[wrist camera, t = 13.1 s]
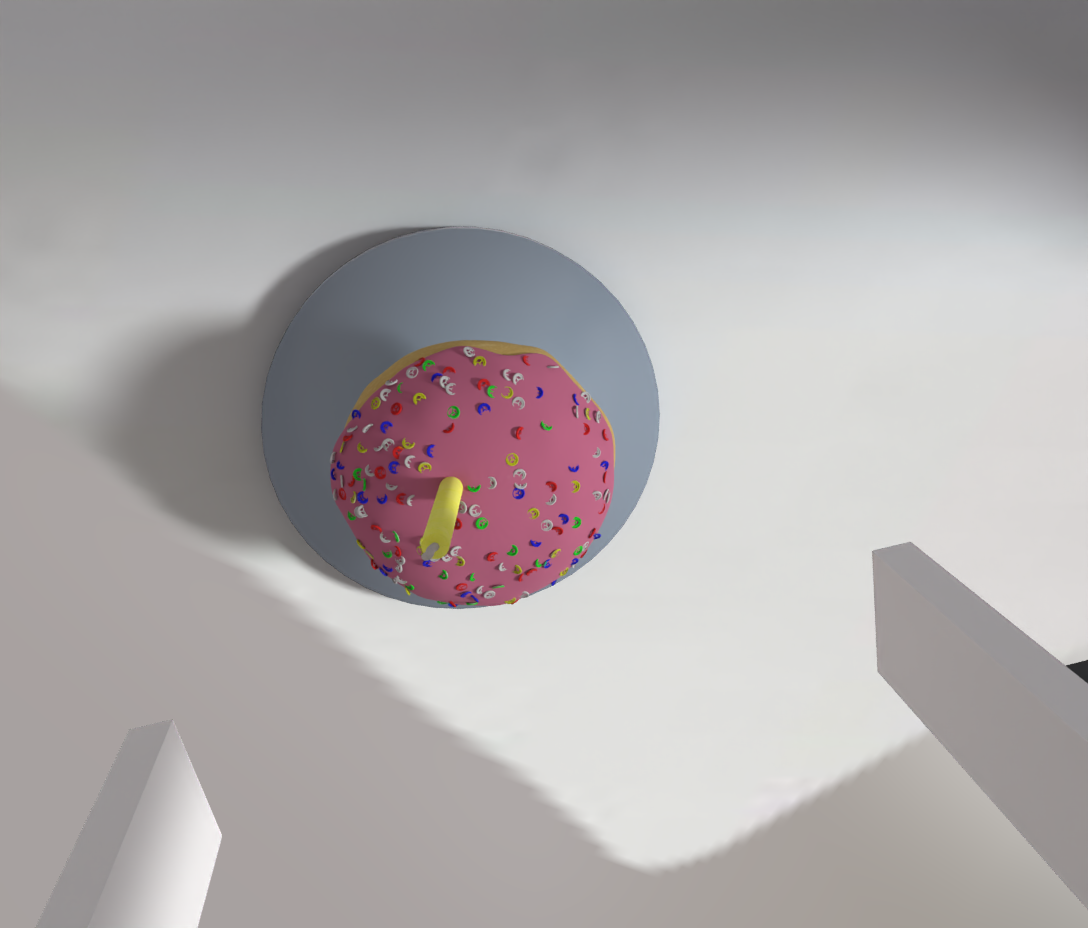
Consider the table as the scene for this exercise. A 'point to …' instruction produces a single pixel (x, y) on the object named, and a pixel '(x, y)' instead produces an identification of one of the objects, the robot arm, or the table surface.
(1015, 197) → the table surface
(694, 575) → the table surface
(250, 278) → the table surface
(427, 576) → the cupcake
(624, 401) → the slate plate
